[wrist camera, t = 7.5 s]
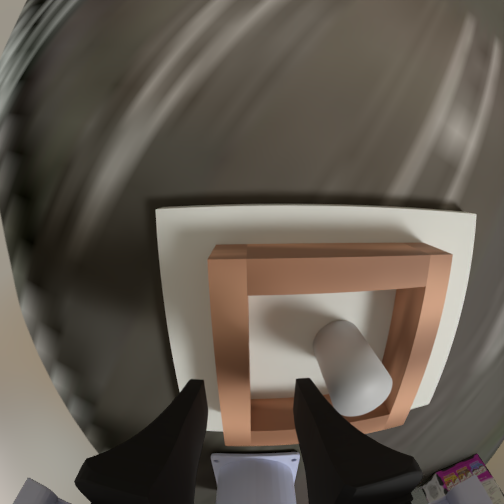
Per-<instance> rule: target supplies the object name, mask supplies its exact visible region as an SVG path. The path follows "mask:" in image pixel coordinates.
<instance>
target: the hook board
mask: <svg viewBox="0 0 504 504" xmlns="http://www.w3.org/2000/svg"><path fill="white" fill-rule="evenodd" d="M156 226H157V240H158V252H159V263H160V273H161V282H162V290H163V298H164V306H165V313H166V320H167V327H168V333H169V339H170V345H171V351H172V356H173V362H174V367H175V372H176V377H177V382H178V387H179V391H180V392H181V390H182V389H183V388H184V386H185V385H186V384H187V382H188V381H189V380H190V379H200V380H204V384H205V391H206V397H207V404H208V421H207V429H206V431H223V425H222V417H221V409H220V401H219V393H218V384H217V375H216V365H215V355H214V344H213V333H212V321H211V309H210V295H209V280H208V263H207V259H208V257H209V256H210V254H211V252H212V251H213V249H214V247H215V245H221V244H288V243H426V244H428V245H431V246H433V247H436V248H438V249H441V250H443V251H446V252H448V253H451V254H453V257H452V264H451V271H450V277H449V283H448V288H447V293H446V298H445V303H444V307H443V311H442V316H441V320H440V324H439V328H438V331H437V335H436V338H435V342H434V345H433V349H432V352H431V355H430V358H429V361H428V364H427V367H426V370H425V373H424V376H423V378H422V381H421V384H420V386H419V389H418V392H417V394H416V397H415V399H414V401H413V404H412V406H411V408H410V409H413V408H417V407H420V406H424V405H427V404H429V403H430V401H431V398H432V396H433V394H434V391H435V389H436V387H437V384H438V382H439V379H440V377H441V374H442V371H443V369H444V366H445V363H446V361H447V358H448V355H449V352H450V349H451V346H452V343H453V339H454V336H455V333H456V329H457V326H458V322H459V318H460V315H461V311H462V306H463V302H464V298H465V293H466V288H467V283H468V278H469V273H470V267H471V260H472V253H473V246H474V237H475V226H476V214H473V213H468V212H463V211H452V210H440V209H426V208H411V207H394V206H373V205H344V204H225V205H195V206H173V207H162V208H158V209H156ZM395 296H396V289H390V290H376V291H361V292H343V293H323V294H297V295H258V296H248V304H249V350H250V391H251V399H272V398H291V397H294V393H295V383H296V379H298V378H310V379H311V380H312V381H313V383H314V384H315V385H316V387H317V388H318V389H319V391H320V392H321V393H322V395H325V394H329V396H330V398H331V401H332V404H333V407H334V408H335V409H336V410H337V411H338V412H339V413H340V414H341V415H343V416H349V417H352V416H359V415H363V414H366V413H368V412H370V411H372V410H374V409H375V408H377V407H378V406H380V405H381V404H382V403H383V402H384V401H385V400H386V398H387V397H388V396H389V394H390V392H391V389H392V378H391V376H390V375H389V373H388V372H387V370H386V369H385V367H384V366H383V364H382V359H383V355H384V351H385V347H386V343H387V338H388V334H389V329H390V324H391V319H392V313H393V308H394V302H395Z"/></svg>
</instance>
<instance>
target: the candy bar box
mask: <svg viewBox="0 0 504 504" xmlns="http://www.w3.org/2000/svg"><path fill="white" fill-rule="evenodd" d="M473 475H476V476H477V477H478V479H479V481H480V482H481V484H482V485H483V487H484V489H485V491H486V492H487V494H488V496H489V497H490V499H491V501H492V503H493V504H504V494H503V493H502V491H501V490H500V488H499V486H498V485H497V483H496V482H495V480H494V478H493V477H492V475H491V474H490V472H489V470H488V469H487V467H486V466H485V464H484V463H483V461H482V460H481V458H480V457H479V455H478V454H476V455H474V456H472V457H470V458H467V459H465V460H463V461H461V462H459V463H457V464H455V465H452V466H450V467H448V468H445V469H443V470H441V471H438V472H436V473H435V474H434V475H433V476H432V477H431V478H430V479H429V480H428V481H427V482H426V483H425V484H424V485H423V486H422V490H423V492H424V494H425V496H426V498H427V500H428V502H429V503H431V502H433V501H435V500H437V499H439V498H441V497H443V496H445V495H446V494H447V493H448V492H449V491H450V490H451V489H452V488H453V487H454V486H456V485H457V484H459V483H461V482H463V481H465V480H466V479H468V478H470V477H471V476H473Z"/></svg>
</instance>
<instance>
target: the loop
mask: <svg viewBox="0 0 504 504" xmlns="http://www.w3.org/2000/svg"><path fill="white" fill-rule="evenodd" d="M452 257H453V254H451V253H448V252H446V251H443V250H441V249H438V248H436V247H433V246H431V245H428V244H426V243H288V244H221V245H215V247H214V249H213V251H212V252H211V254H210V256H209V257H208V259H207V263H208V280H209V295H210V309H211V321H212V333H213V344H214V355H215V365H216V375H217V384H218V393H219V401H220V409H221V417H222V425H223V433H224V440H225V446H272V445H289V444H299V442H298V438H297V434H296V430H295V424H294V415H293V403H294V397H291V398H272V399H251V391H250V350H249V304H248V296H258V295H297V294H323V293H343V292H361V291H376V290H390V289H396V296H395V302H394V308H393V313H392V319H391V324H390V329H389V334H388V338H387V343H386V347H385V351H384V355H383V359H382V364H383V366H384V367H385V369H386V370H387V372H388V373H389V375H390V376H391V378H392V389H391V392H390V394H389V396H388V397H387V398H386V400H385V401H384V402H383V403H382V404H381V405H380V406H378V407H377V408H375V409H374V410H372V411H370V412H368V413H366V414H363V415H359V416H352V417H349V416H343V415H342V416H343V417H344V418H345V419H346V420H347V421H348V422H349V423H351V424H352V425H353V426H354V427H356V428H357V429H358V430H359V431H361V432H362V433H364V434H367V433H371V432H376V431H380V430H384V429H388V428H392V427H396V426H400V425H403V424H404V422H405V420H406V417H407V415H408V413H409V411H410V408H411V406H412V404H413V401H414V399H415V397H416V394H417V392H418V389H419V386H420V384H421V381H422V378H423V376H424V373H425V370H426V367H427V364H428V361H429V358H430V355H431V352H432V349H433V345H434V342H435V338H436V335H437V331H438V328H439V324H440V320H441V316H442V311H443V307H444V303H445V298H446V293H447V288H448V283H449V277H450V271H451V264H452ZM323 396H324V397H325V398H326V399H327V401H328V402H329V403H330V404H331V405H332V406H333V404H332V401H331V398H330V396H329V394H325V395H323Z"/></svg>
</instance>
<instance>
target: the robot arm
mask: <svg viewBox="0 0 504 504" xmlns="http://www.w3.org/2000/svg"><path fill="white" fill-rule="evenodd" d="M293 415H294V424H295V430H296V434H297V438H298V442H299V446H300V450H301V454H302V458H303V462H304V466H305V472H306V480H307V488H308V498H309V504H411V501H412V500H413V497H412V494H411V492H412V491H413V490H414V488H415V487H416V486H417V485H418V484H419V482H420V481H421V479H422V477H423V473H422V471H421V469H420V467H419V465H418V463H417V462H416V460H415V459H414V457H412V456H409V455H406V454H403V453H401V452H398V451H395V450H393V449H391V448H388V447H386V446H384V445H382V444H380V443H378V442H377V441H375V440H373V439H372V438H370V437H368V436H367V435H365V434H364V433H362V432H361V431H359V430H358V429H357V428H356V427H354V426H353V425H352V424H351V423H349V422H348V421H347V420H346V419H345V418H344V417H343V416H342V415H341V414H340V413H339V412H338V411H337V410H336V409H335V408H334V407H333V406H332V405H331V404H330V403H329V402H328V401H327V399H326V398H325V397H324V396H323V395H322V393H321V392H320V391H319V389H318V388H317V387H316V385H315V384H314V383H313V381H312V380H311V379H310V378H298V379H296V383H295V393H294V403H293ZM207 421H208V404H207V397H206V391H205V384H204V380H200V379H190V380H189V381H188V382H187V384H186V385H185V386H184V388H183V389H182V390H181V392H180V393H179V394H178V395H177V397H176V398H175V399H174V400H173V401H172V403H171V404H170V405H169V406H168V407H167V408H166V409H165V410H164V411H163V412H162V413H161V414H160V415H159V416H158V417H157V418H156V419H155V420H154V421H153V422H152V423H151V424H150V425H148V426H147V427H146V428H145V429H143V430H142V431H141V432H139V433H138V434H137V435H135V436H134V437H132V438H131V439H129V440H128V441H126V442H124V443H122V444H121V445H119V446H117V447H115V448H113V449H111V450H109V451H106V452H104V453H101V454H98V455H96V456H93V457H90V458H87V459H86V460H85V462H84V463H83V465H82V467H81V469H80V471H79V473H78V475H77V477H76V479H75V481H74V482H75V485H76V487H77V488H78V489H79V490H80V492H81V493H82V494H83V495H84V496H85V497H86V498H87V499H88V500H89V501H90V502H91V504H194V494H195V483H196V474H197V468H198V463H199V459H200V454H201V450H202V446H203V442H204V438H205V433H206V429H207ZM299 458H300V454H299V453H298V452H285V453H265V454H227V453H213V454H211V462H212V466H213V470H214V474H215V478H216V482H217V497H216V504H296V497H295V489H294V482H295V477H296V473H297V468H298V463H299ZM13 504H71V503H68V502H66V501H64V500H62V499H60V498H58V497H57V496H56V495H55V494H54V493H53V492H52V491H51V490H50V489H48V488H47V487H45V486H44V485H42V484H40V483H38V482H36V481H34V480H33V479H31V478H27V480H26V482H25V484H24V485H23V487H22V489H21V490H20V492H19V494H18V496H17V497H16V499H15V501H14V503H13ZM428 504H493V503H492V501H491V499H490V497H489V496H488V494H487V492H486V491H485V489H484V487H483V485H482V484H481V482H480V481H479V479H478V477H477V476H476V475H473V476H471V477H470V478H468V479H466V480H465V481H463V482H461V483H459V484H457V485H456V486H454V487H453V488H452V489H451V490H450V491H449V492H448V493H447V494H446V495H445V496H443V497H441V498H439V499H437V500H435V501H433V502H431V503H428Z"/></svg>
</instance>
